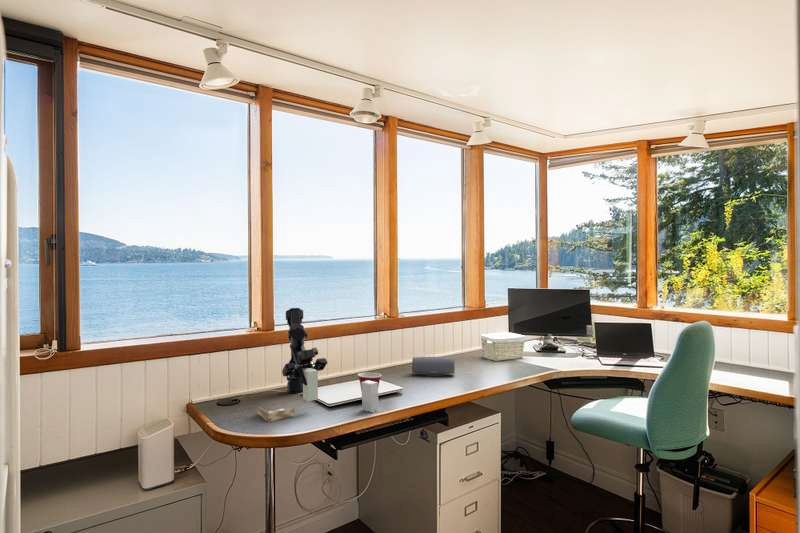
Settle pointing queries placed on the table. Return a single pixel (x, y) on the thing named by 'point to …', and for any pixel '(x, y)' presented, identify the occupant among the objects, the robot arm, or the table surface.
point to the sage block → (310, 385)
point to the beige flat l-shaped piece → (275, 414)
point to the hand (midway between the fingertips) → (311, 384)
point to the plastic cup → (369, 377)
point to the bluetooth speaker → (433, 365)
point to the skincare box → (370, 396)
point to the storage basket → (502, 346)
